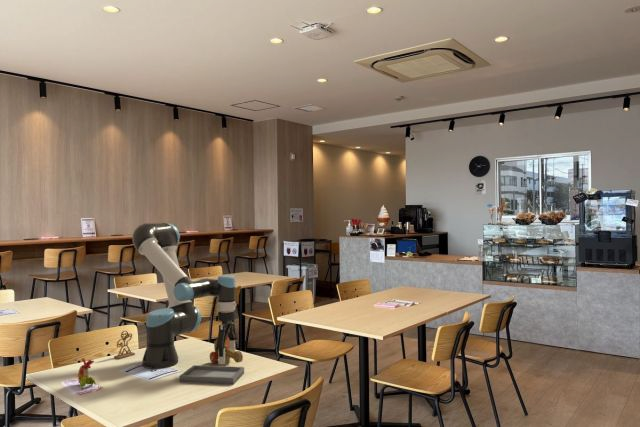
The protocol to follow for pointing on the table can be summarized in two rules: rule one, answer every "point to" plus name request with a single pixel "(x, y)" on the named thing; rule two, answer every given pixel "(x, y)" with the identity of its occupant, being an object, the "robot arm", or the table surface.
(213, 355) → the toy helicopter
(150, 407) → the table surface
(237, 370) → the gray tray
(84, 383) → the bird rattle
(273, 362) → the table surface
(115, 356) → the wire human figurine
